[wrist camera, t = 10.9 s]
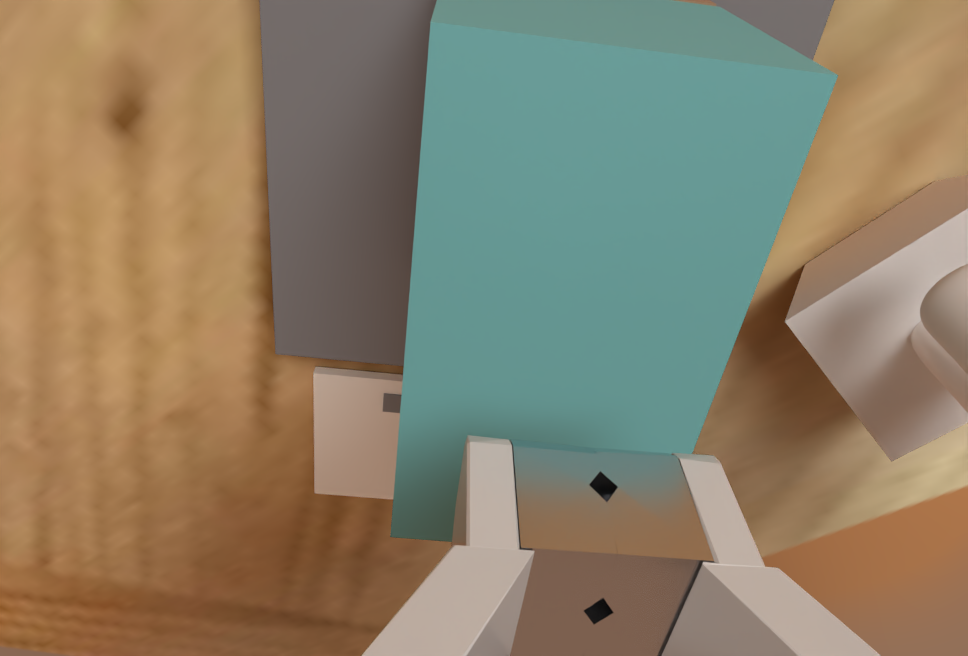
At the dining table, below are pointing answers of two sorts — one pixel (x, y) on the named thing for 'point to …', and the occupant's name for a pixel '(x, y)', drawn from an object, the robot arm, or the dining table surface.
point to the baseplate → (372, 161)
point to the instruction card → (356, 432)
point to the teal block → (587, 226)
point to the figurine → (895, 318)
